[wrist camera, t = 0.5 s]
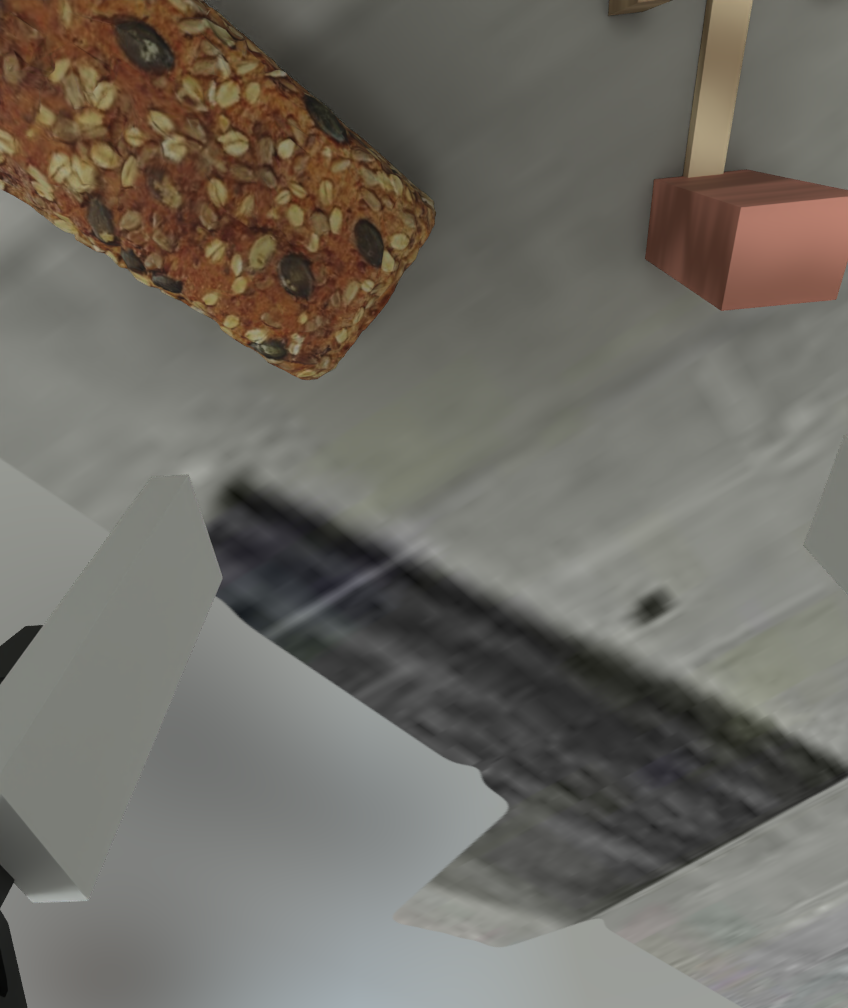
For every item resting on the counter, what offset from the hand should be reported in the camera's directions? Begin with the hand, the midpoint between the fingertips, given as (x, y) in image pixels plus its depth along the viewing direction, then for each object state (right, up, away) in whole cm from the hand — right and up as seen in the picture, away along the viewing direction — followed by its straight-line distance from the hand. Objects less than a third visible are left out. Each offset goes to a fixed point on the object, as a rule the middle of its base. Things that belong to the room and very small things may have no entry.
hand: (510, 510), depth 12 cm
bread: (-11, +18, +18) cm, 28 cm away
